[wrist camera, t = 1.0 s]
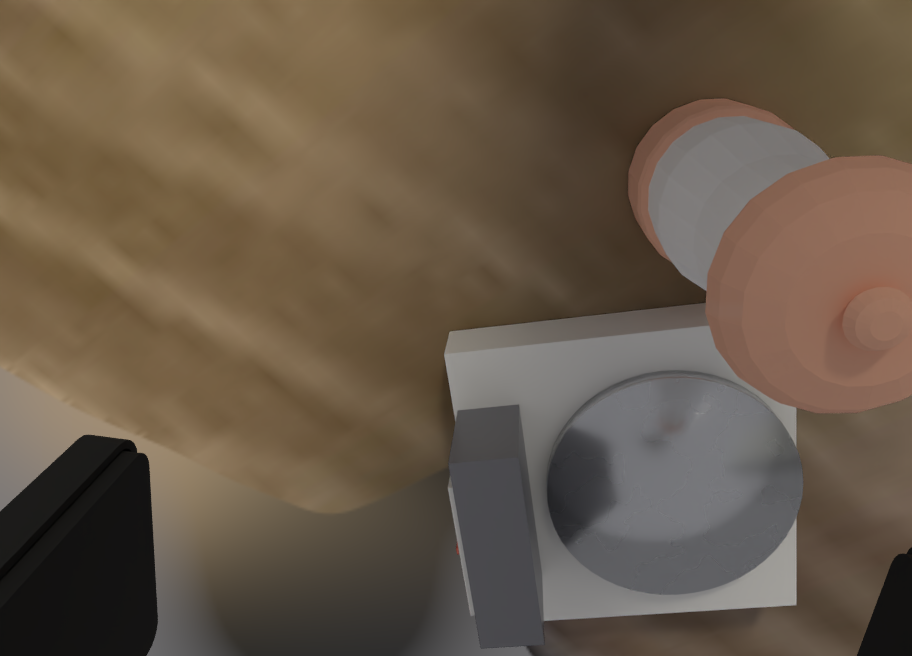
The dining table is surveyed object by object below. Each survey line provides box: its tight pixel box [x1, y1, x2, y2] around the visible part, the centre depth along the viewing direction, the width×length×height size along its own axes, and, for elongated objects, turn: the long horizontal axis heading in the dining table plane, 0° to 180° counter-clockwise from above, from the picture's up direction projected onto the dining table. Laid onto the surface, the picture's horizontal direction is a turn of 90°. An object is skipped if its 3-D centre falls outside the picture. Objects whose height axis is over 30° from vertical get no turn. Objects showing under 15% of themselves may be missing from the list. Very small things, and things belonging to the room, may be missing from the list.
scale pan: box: [546, 370, 803, 595], centre depth 38 cm, size 12×12×1 cm
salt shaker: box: [628, 98, 912, 413], centre depth 27 cm, size 7×7×19 cm
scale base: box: [444, 303, 796, 648], centre depth 38 cm, size 16×16×8 cm
